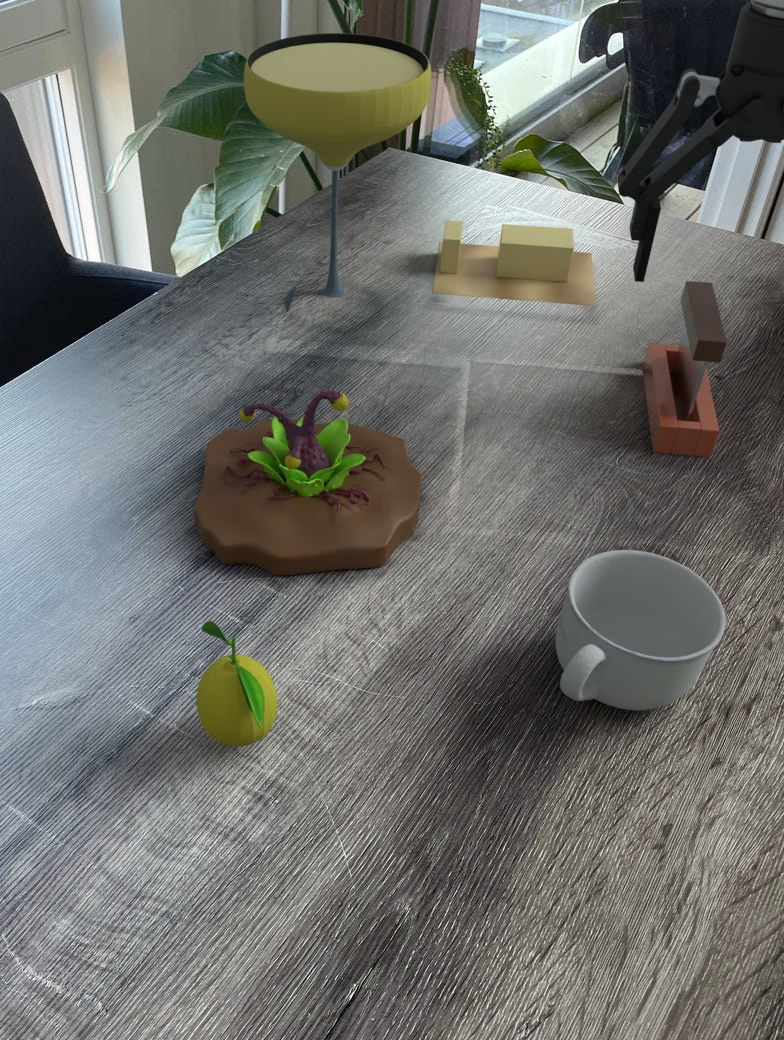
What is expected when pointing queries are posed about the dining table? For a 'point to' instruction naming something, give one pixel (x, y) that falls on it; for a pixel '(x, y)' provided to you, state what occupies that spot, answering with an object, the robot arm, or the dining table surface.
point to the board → (513, 279)
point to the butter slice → (451, 246)
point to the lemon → (235, 697)
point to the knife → (696, 345)
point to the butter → (535, 252)
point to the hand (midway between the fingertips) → (717, 279)
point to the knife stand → (662, 413)
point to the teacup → (635, 630)
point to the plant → (306, 493)
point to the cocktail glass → (336, 100)
